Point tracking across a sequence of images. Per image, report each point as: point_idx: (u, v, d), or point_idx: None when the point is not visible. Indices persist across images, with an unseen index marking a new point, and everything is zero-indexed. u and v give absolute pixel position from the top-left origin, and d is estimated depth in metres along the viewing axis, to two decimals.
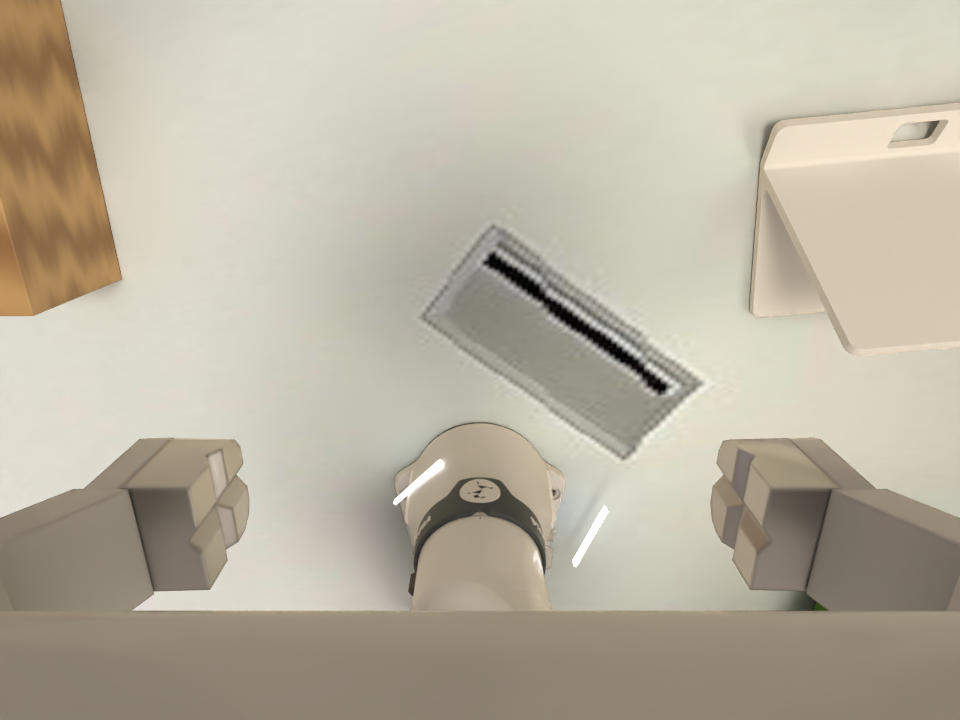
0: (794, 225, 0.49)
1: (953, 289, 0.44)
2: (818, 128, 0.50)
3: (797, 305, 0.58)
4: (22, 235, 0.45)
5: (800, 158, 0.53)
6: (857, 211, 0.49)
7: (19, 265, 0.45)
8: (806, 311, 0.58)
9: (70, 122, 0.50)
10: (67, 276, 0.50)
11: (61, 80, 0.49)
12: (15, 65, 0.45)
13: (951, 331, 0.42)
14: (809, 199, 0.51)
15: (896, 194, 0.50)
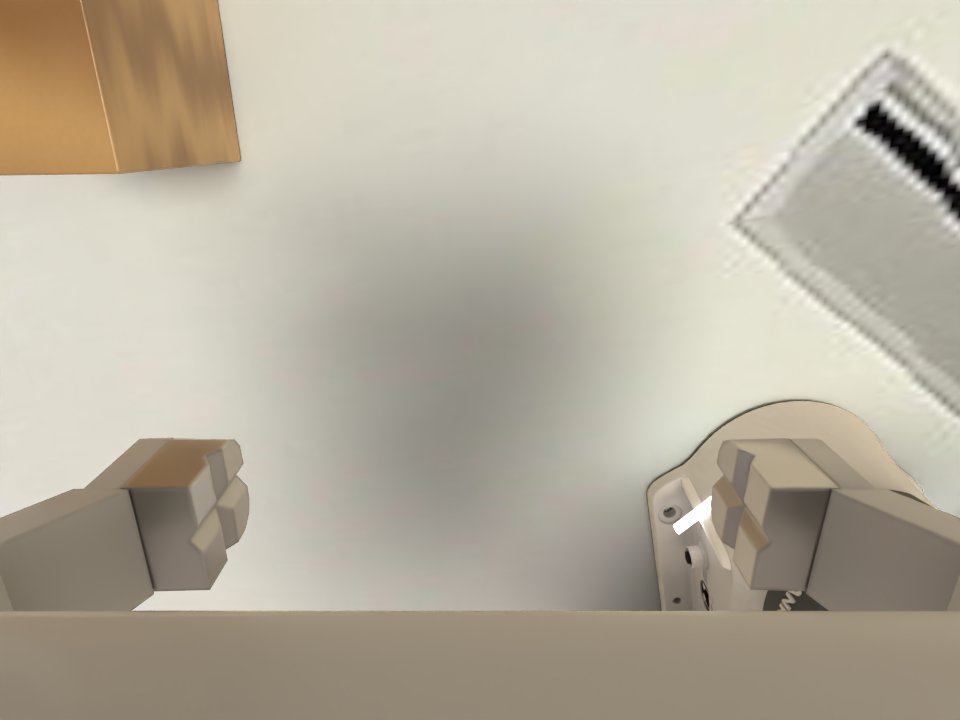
0: None
1: None
2: None
3: None
4: None
5: None
6: None
7: (95, 57, 0.21)
8: None
9: None
10: (172, 120, 0.27)
11: None
12: None
13: None
14: None
15: None
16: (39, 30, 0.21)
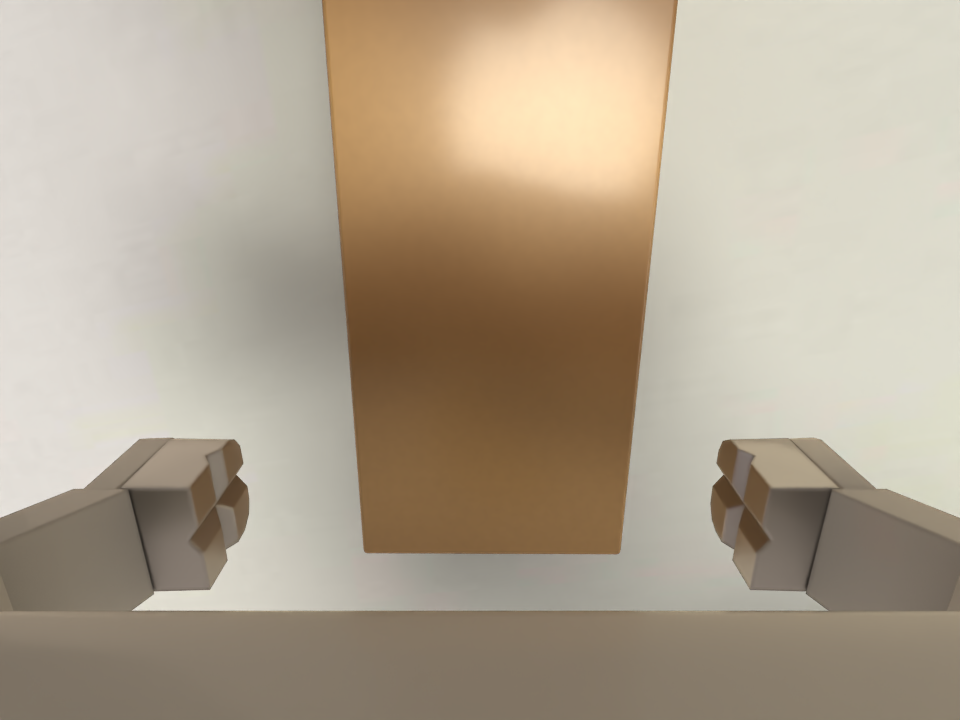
0: None
1: None
2: None
3: None
4: None
5: None
6: None
7: (636, 392, 0.12)
8: None
9: None
10: None
11: None
12: None
13: None
14: None
15: None
16: (554, 350, 0.12)
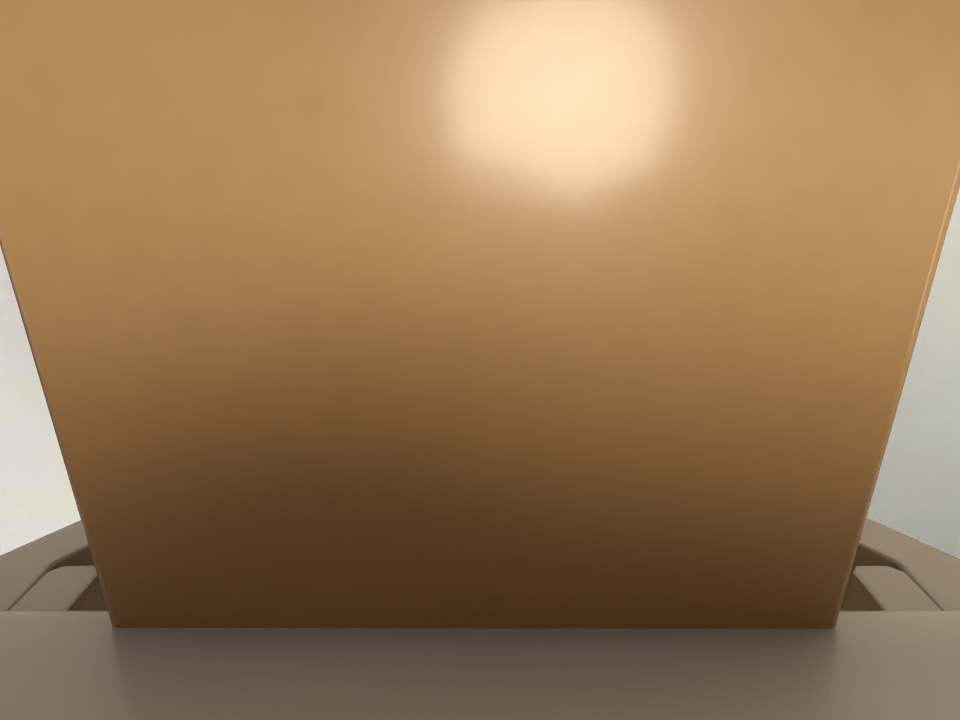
0: None
1: None
2: None
3: None
4: None
5: None
6: None
7: None
8: None
9: None
10: None
11: None
12: None
13: None
14: None
15: None
16: None
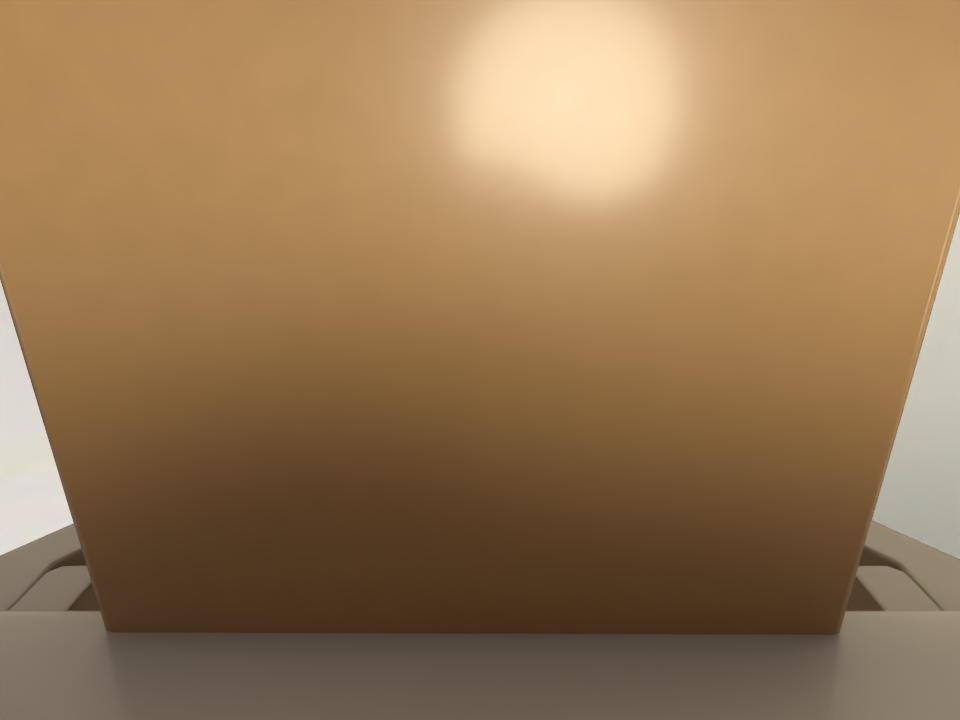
0: None
1: None
2: None
3: None
4: None
5: None
6: None
7: None
8: None
9: None
10: None
11: None
12: None
13: None
14: None
15: None
16: None
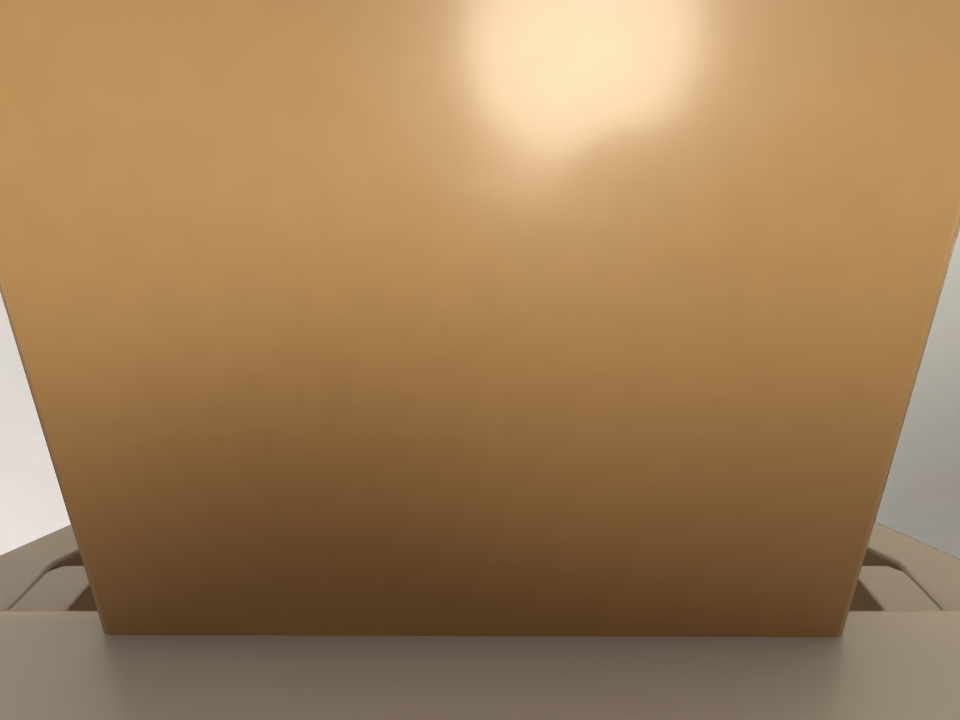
0: None
1: None
2: None
3: None
4: None
5: None
6: None
7: None
8: None
9: None
10: None
11: None
12: None
13: None
14: None
15: None
16: None
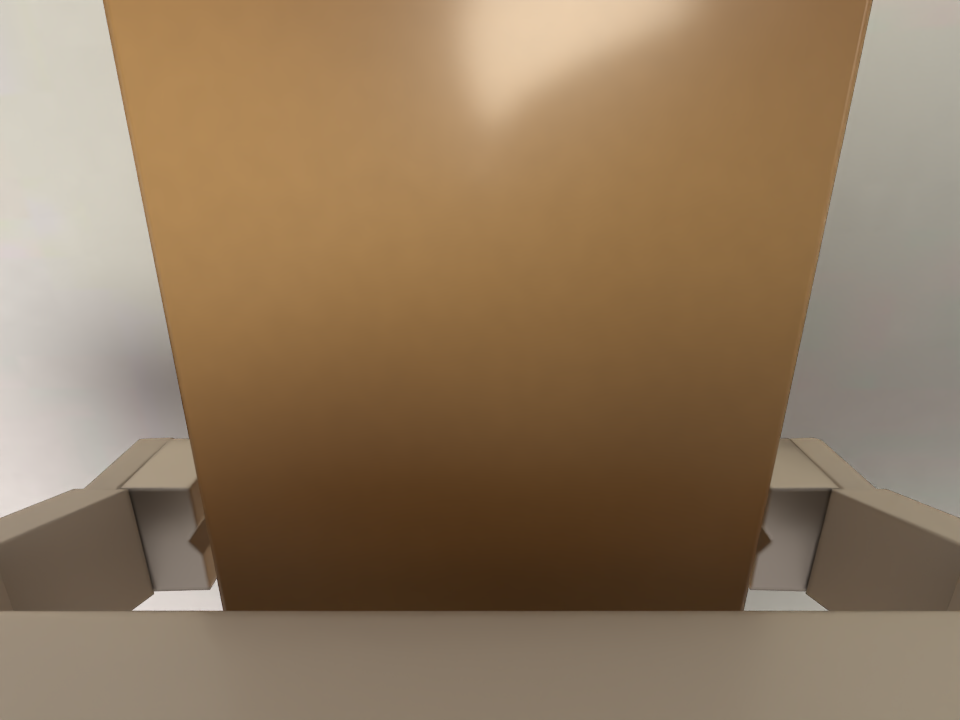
0: None
1: None
2: None
3: None
4: None
5: None
6: None
7: None
8: None
9: None
10: None
11: None
12: None
13: None
14: None
15: None
16: (592, 593, 0.06)
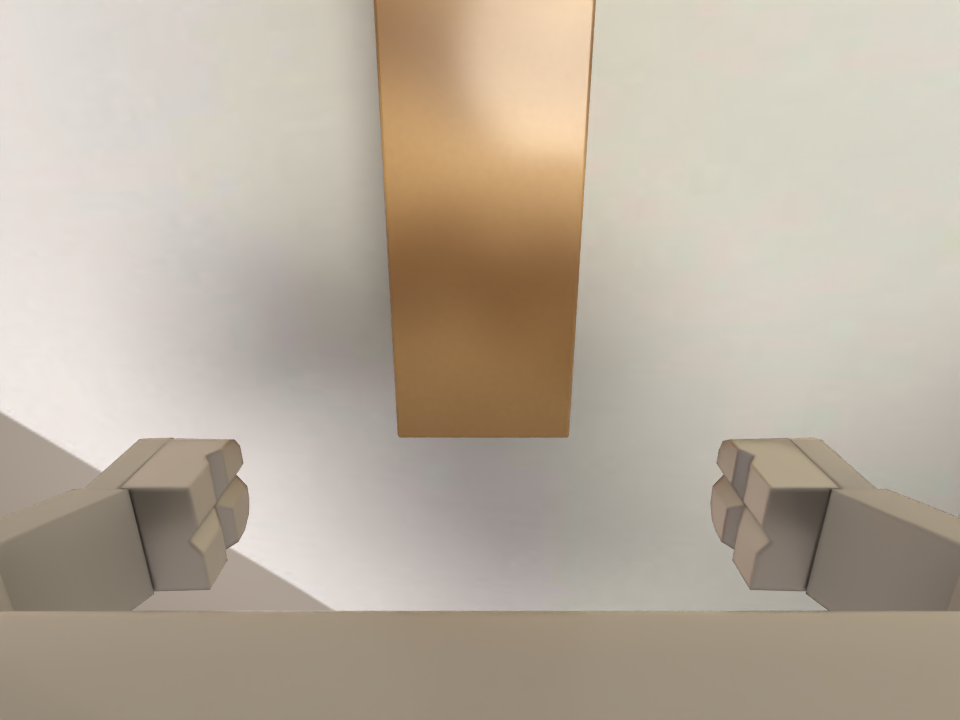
0: None
1: None
2: None
3: None
4: None
5: None
6: None
7: (575, 325, 0.19)
8: None
9: None
10: None
11: None
12: None
13: None
14: None
15: None
16: (521, 298, 0.18)
